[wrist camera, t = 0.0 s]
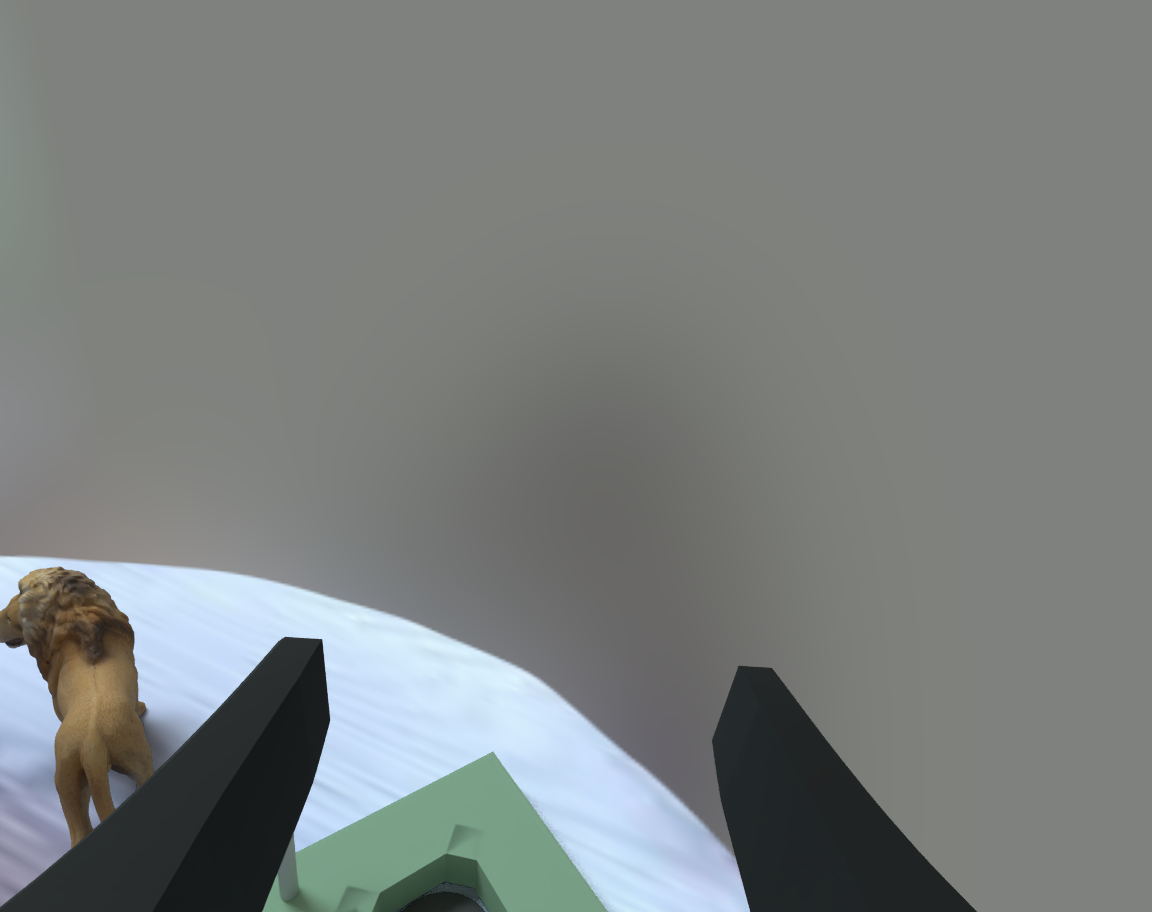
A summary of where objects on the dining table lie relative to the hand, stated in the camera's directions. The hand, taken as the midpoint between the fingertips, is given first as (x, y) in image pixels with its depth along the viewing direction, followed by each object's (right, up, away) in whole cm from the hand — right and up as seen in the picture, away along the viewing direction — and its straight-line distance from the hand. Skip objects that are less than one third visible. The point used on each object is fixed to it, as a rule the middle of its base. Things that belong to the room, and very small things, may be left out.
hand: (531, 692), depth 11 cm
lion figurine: (-23, -12, +21) cm, 33 cm away
